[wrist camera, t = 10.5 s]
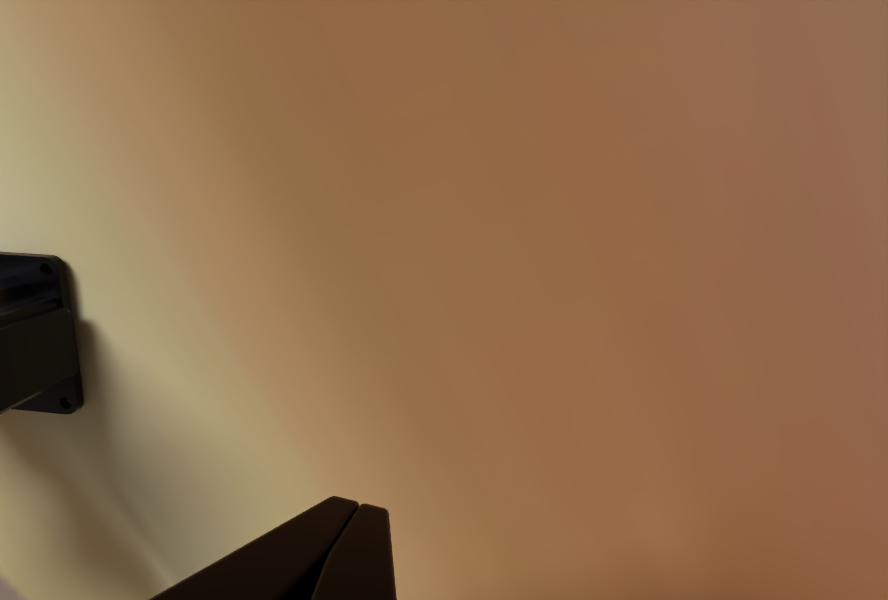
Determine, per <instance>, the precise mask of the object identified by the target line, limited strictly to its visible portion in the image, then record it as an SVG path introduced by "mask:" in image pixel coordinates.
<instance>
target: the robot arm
mask: <svg viewBox="0 0 888 600" xmlns="http://www.w3.org/2000/svg"><path fill="white" fill-rule="evenodd" d="M48 265H49V266H51V268H52V273H51V272H50V271H49V269H48ZM67 398H68V399H69V400H70V402H71V404H70V403H69V402H68V400H67ZM83 404H84V397H83V390H82V382H81V375H80V368H79V360H78V353H77V346H76V338H75V331H74V324H73V316H72V309H71V302H70V294H69V287H68V280H67V272H66V267H65V264H64V262H63V261H62V260H61V259H60V258H59V257H57V256H54V255H42V254H27V253H11V252H0V414H2V413H4V412H6V411H7V410H9V409H17V410H28V411H38V412H48V413H59V414H72V413H74V412H75V411H77V410H79V409H80V408H82V406H83ZM149 600H397V599H396V588H395V577H394V566H393V555H392V544H391V533H390V522H389V513H388V510H386V509H385V508H381V507H377V506H373V505H369V504H361V505H360V506H359V504H358V502H356V501H353V500H349V499H345V498H341V497H337V496H332V497H329V498H327V499H326V500H324V501H322V502H320V503H319V504H317V505H315V506H313V507H312V508H310V509H308V510H306V511H304V512H303V513H301V514H299V515H297V516H296V517H294V518H292V519H290V520H289V521H287V522H285V523H283V524H282V525H280V526H278V527H276V528H274V529H273V530H271V531H269V532H267V533H266V534H264V535H262V536H260V537H259V538H257V539H255V540H253V541H251V542H250V543H248V544H246V545H244V546H243V547H241V548H239V549H237V550H236V551H234V552H232V553H230V554H229V555H227V556H225V557H223V558H221V559H220V560H218V561H216V562H214V563H213V564H211V565H209V566H207V567H206V568H204V569H202V570H200V571H198V572H197V573H195V574H193V575H191V576H190V577H188V578H186V579H184V580H183V581H181V582H179V583H177V584H176V585H174V586H172V587H170V588H168V589H167V590H165V591H163V592H161V593H160V594H158V595H156V596H154V597H153V598H151V599H149Z"/></svg>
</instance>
